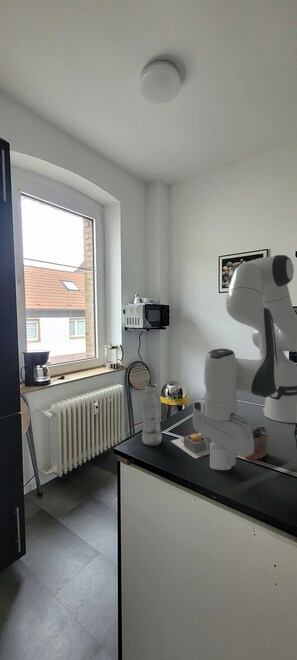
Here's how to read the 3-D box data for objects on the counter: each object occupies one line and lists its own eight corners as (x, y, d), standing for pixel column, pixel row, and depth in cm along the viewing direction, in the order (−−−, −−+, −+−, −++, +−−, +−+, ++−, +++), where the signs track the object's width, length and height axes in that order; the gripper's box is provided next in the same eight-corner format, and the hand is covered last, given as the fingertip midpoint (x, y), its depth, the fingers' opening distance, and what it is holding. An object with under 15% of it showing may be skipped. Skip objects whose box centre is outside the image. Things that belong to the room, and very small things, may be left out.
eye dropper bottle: (228, 477, 72) (228, 433, 72) (208, 471, 75) (207, 429, 75) (232, 469, 76) (232, 427, 75) (213, 464, 79) (213, 423, 78)
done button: (197, 438, 89) (196, 432, 89) (203, 442, 86) (203, 436, 86) (188, 441, 87) (188, 435, 87) (195, 445, 84) (195, 439, 84)
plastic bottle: (160, 450, 88) (159, 388, 87) (139, 448, 89) (138, 388, 88) (163, 441, 94) (162, 384, 93) (144, 439, 95) (143, 383, 94)
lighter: (250, 466, 78) (250, 431, 77) (241, 460, 81) (241, 427, 80) (269, 459, 81) (270, 426, 81) (260, 454, 84) (260, 422, 84)
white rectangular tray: (213, 432, 100) (213, 421, 100) (240, 446, 89) (240, 434, 89) (170, 444, 91) (170, 432, 91) (194, 462, 80) (194, 448, 80)
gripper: (260, 418, 67) (259, 473, 68) (205, 397, 85) (205, 440, 86) (241, 423, 64) (241, 480, 65) (189, 400, 82) (189, 445, 83)
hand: (220, 457), depth 75 cm, fingers open, 6 cm apart
